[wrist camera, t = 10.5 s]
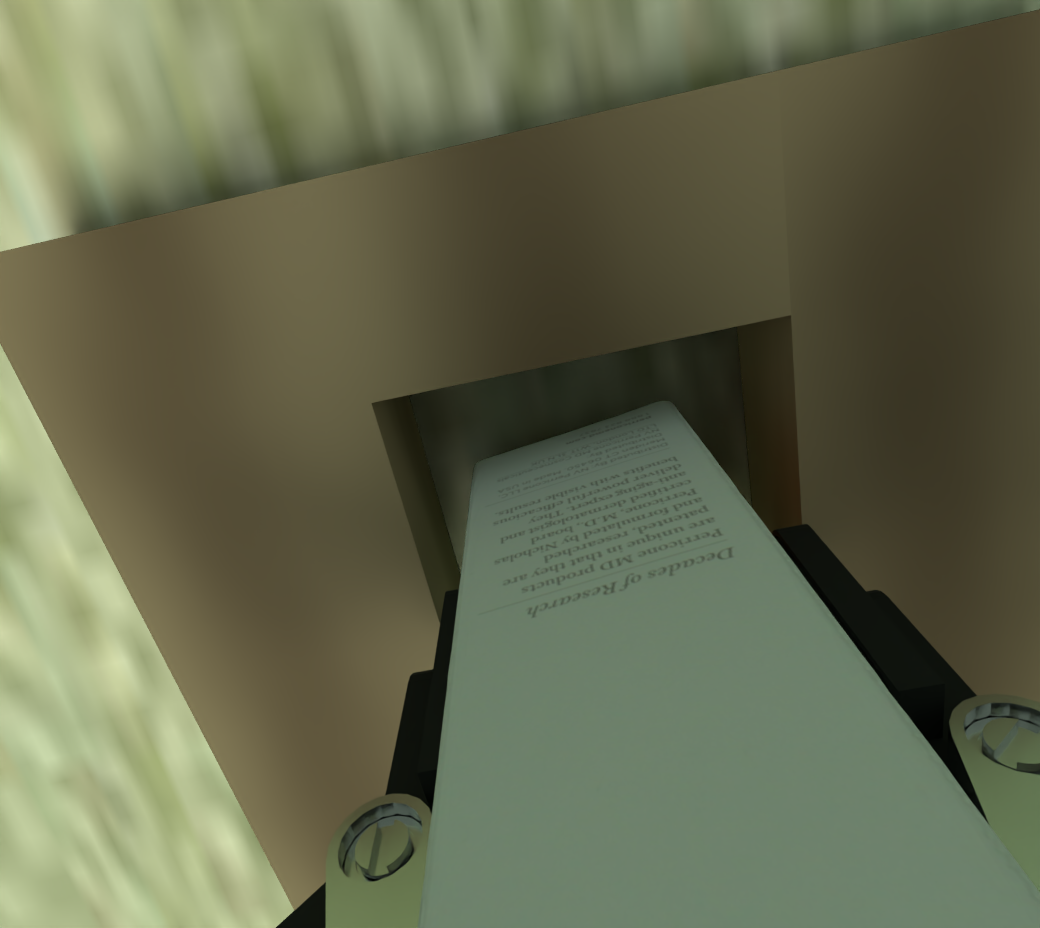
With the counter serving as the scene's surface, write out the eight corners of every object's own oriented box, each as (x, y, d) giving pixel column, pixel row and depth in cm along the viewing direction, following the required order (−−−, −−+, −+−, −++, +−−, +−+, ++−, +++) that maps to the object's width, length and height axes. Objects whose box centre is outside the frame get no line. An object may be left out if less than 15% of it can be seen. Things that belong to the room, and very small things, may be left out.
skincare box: (741, 629, 15) (1344, 1817, 4) (560, 680, 16) (676, 1861, 5) (674, 383, 13) (1598, 1556, 2) (465, 452, 13) (262, 1696, 2)
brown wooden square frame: (1029, 21, 12) (1186, -25, 9) (978, 710, 18) (1063, 806, 15) (73, 244, 13) (-43, 261, 10) (332, 819, 19) (302, 926, 17)
